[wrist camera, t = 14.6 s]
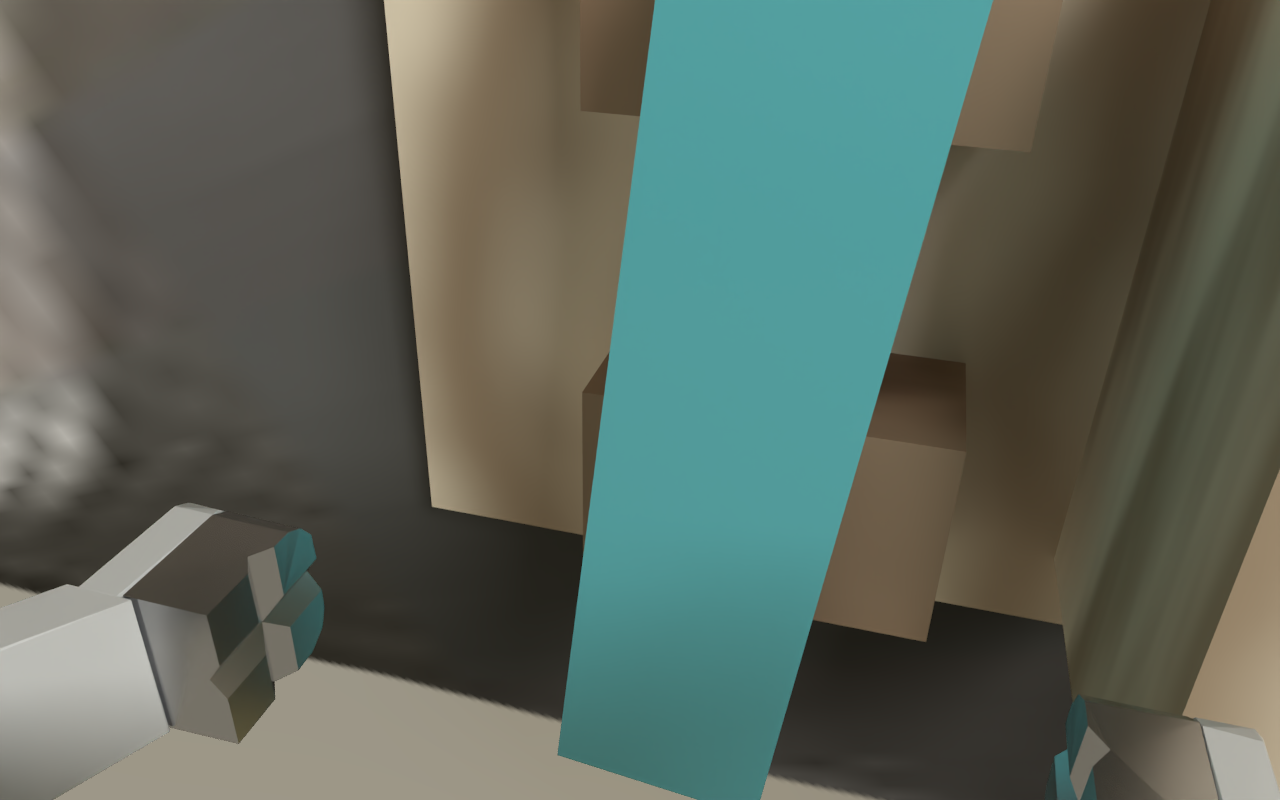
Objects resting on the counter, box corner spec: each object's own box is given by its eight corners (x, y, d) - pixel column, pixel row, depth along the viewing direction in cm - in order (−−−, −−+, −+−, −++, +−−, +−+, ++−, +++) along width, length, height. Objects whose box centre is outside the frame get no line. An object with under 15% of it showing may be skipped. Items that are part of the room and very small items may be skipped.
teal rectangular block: (1007, -124, 15) (1023, -107, 11) (791, 642, 24) (755, 817, 19) (750, -164, 16) (675, -162, 12) (627, 595, 24) (557, 754, 20)
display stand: (1461, -310, 18) (2143, -500, 7) (1149, 593, 27) (1260, 1039, 17) (400, -308, 22) (-79, -425, 12) (460, 470, 32) (226, 769, 22)
